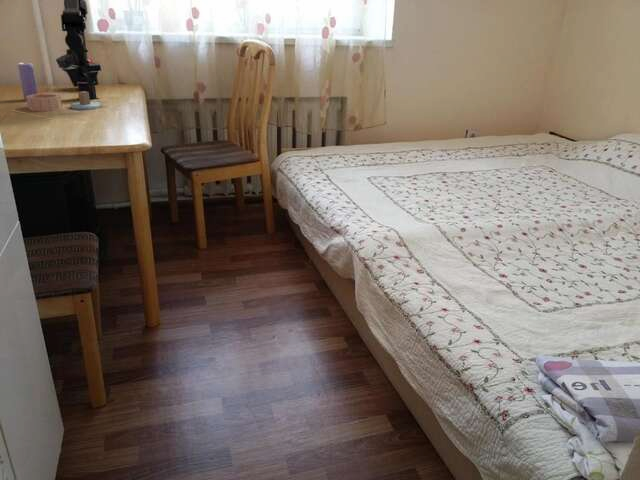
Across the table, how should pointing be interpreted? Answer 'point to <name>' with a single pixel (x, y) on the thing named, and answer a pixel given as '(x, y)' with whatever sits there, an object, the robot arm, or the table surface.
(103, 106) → the mat
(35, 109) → the bowl
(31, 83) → the purple rectangular block
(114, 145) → the table surface
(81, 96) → the lid
